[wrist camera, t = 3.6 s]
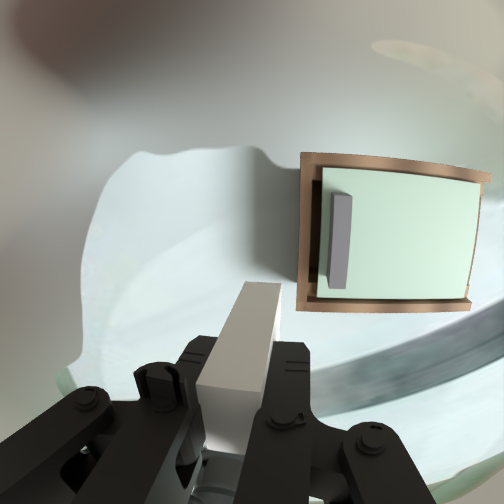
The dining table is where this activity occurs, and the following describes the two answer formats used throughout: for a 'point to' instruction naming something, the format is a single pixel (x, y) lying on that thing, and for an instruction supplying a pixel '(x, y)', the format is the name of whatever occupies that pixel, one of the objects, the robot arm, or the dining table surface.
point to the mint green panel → (395, 235)
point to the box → (312, 226)
